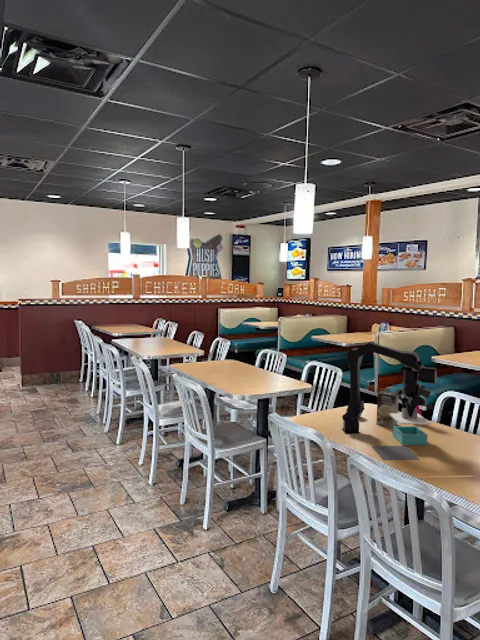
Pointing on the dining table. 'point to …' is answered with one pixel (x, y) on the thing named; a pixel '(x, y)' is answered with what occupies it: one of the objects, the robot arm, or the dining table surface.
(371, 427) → the dining table surface
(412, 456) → the mat
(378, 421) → the coffee box
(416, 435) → the dish
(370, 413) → the dining table surface
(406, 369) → the robot arm
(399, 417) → the lid
